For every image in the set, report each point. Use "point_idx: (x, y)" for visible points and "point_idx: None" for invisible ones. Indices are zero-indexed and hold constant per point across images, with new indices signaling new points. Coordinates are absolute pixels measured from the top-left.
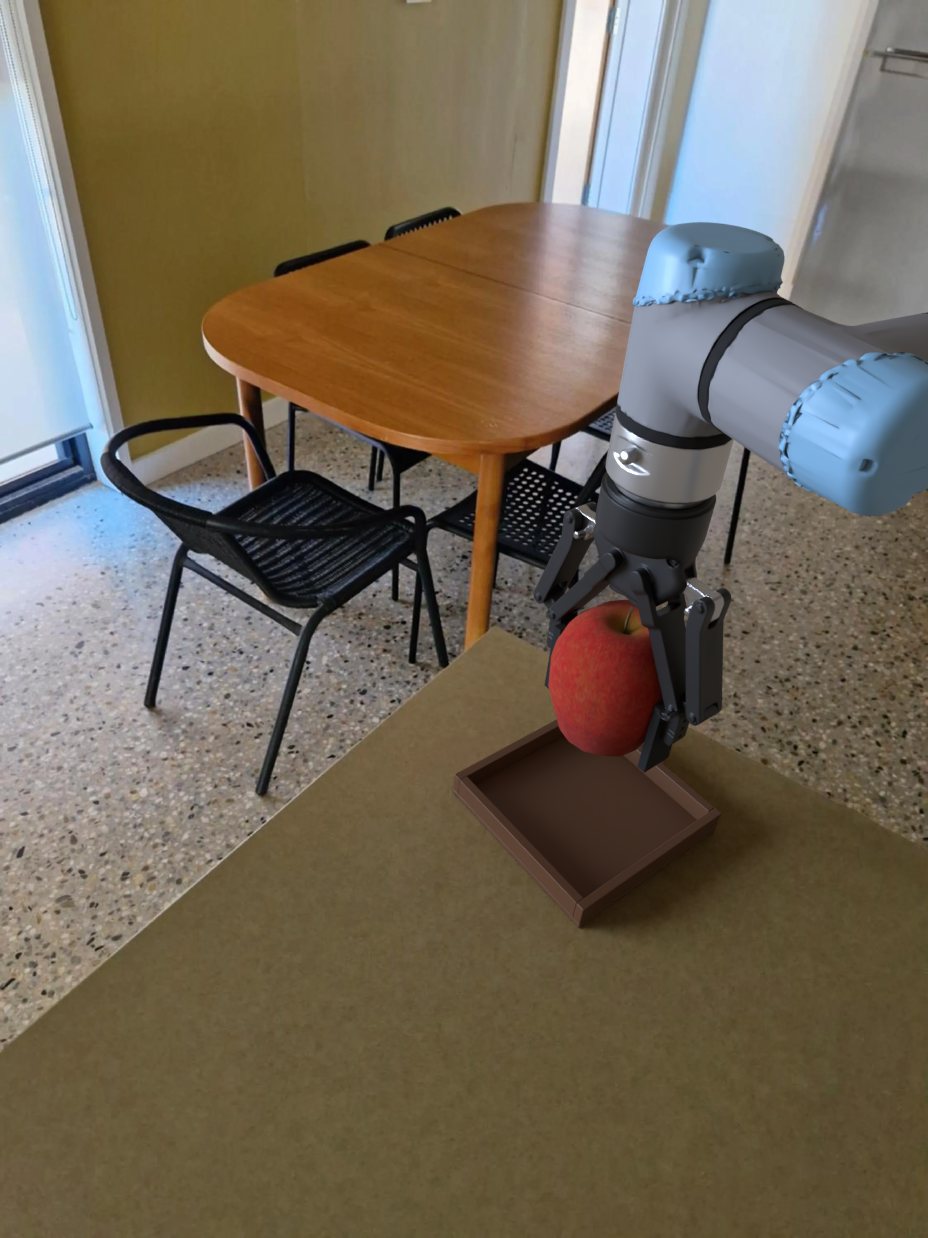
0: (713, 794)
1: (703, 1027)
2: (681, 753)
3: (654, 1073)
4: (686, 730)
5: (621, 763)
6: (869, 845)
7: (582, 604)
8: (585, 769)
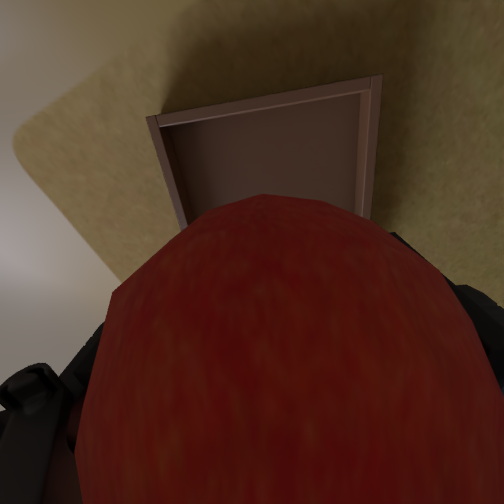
0: (329, 29)
1: (477, 237)
2: (253, 19)
3: (464, 282)
4: (498, 306)
5: (238, 126)
6: None
7: (68, 485)
8: (229, 171)
